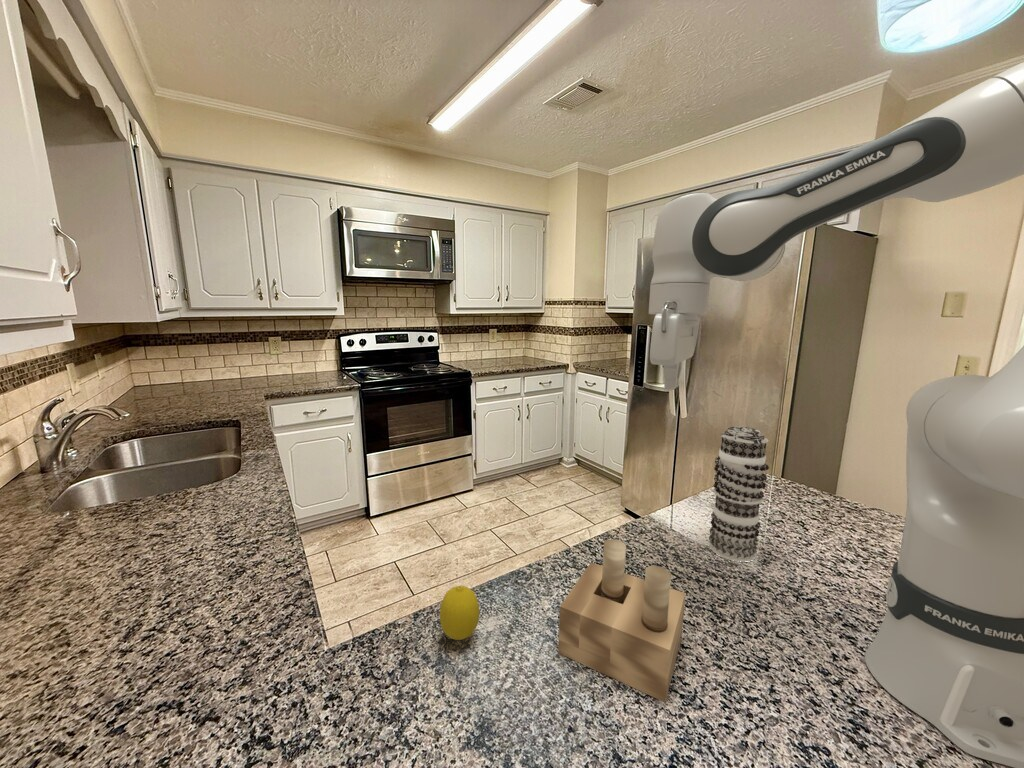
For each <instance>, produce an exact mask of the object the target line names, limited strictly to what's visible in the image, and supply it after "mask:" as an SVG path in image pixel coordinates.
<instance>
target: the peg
mask: <svg viewBox="0 0 1024 768" xmlns="http://www.w3.org/2000/svg"><path fill="white" fill-rule="evenodd" d="M626 551H627V545H626V543H624V542H623V541H621V540H619V539H613V538H610V539H605V541H604V542H603V553H602V555H603V556H602V566H603V570H602V586H601V597H604V598H606V599H609V600H612V601H615V602H617V603H620V604H622V603H623V594H624V590H623V587H624V573H625V569H626V554H627V553H626Z"/></svg>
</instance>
